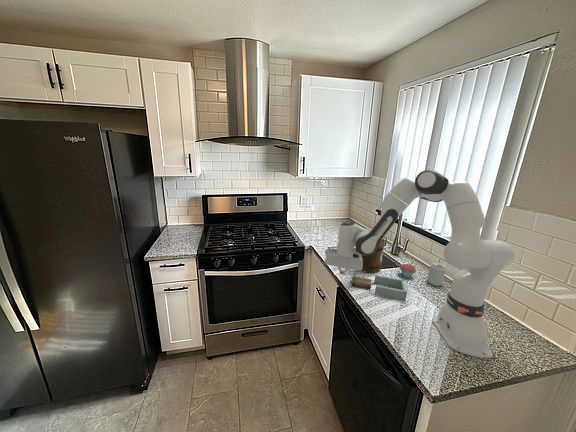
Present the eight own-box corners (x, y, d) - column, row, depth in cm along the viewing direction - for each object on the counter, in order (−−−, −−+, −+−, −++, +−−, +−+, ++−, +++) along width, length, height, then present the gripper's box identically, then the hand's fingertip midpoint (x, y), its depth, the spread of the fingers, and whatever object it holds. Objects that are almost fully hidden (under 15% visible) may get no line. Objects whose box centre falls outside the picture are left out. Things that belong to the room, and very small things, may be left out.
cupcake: (412, 273, 143) (416, 255, 140) (415, 280, 135) (420, 261, 132) (397, 271, 145) (400, 253, 142) (399, 278, 137) (403, 259, 134)
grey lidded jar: (434, 287, 129) (439, 267, 126) (423, 280, 136) (427, 261, 133) (445, 286, 131) (450, 266, 128) (434, 279, 138) (438, 260, 135)
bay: (405, 300, 116) (407, 292, 115) (374, 294, 120) (376, 286, 119) (401, 287, 128) (403, 279, 127) (374, 282, 132) (375, 274, 131)
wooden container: (385, 272, 144) (391, 238, 138) (364, 274, 139) (369, 239, 133) (370, 261, 157) (375, 229, 151) (350, 263, 153) (354, 231, 147)
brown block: (370, 290, 124) (372, 281, 122) (351, 286, 127) (352, 277, 125) (370, 283, 130) (371, 275, 128) (351, 280, 133) (352, 271, 131)
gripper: (324, 249, 127) (322, 272, 131) (364, 256, 121) (360, 280, 125) (326, 245, 133) (324, 267, 136) (364, 251, 127) (361, 274, 131)
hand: (342, 273), depth 131 cm, fingers closed
